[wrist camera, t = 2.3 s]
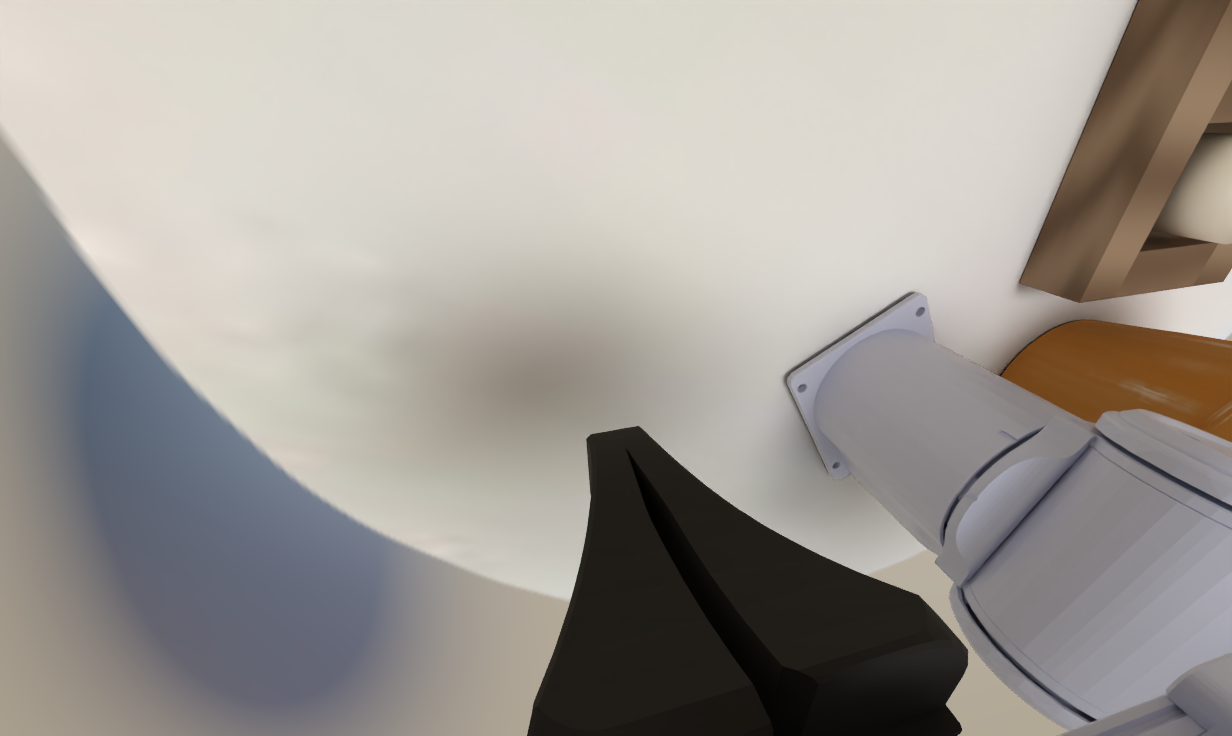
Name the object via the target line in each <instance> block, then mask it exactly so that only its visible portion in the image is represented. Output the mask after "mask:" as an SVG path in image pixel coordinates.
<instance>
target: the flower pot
mask: <svg viewBox="0 0 1232 736" xmlns="http://www.w3.org/2000/svg"><path fill="white" fill-rule="evenodd" d="M1001 377H1002V378H1004V379H1006V380H1008V381H1010V382H1012V383H1014V384H1016V385H1018V386H1020V387H1021V388H1023V389H1025V390H1027V391H1029V392H1031V393H1033V394H1035V395H1037V396H1039V397H1041V398H1043V399H1044V400H1046V401H1048V402H1050V403H1052V404H1054V405H1056V406H1058V407H1060V408H1062V409H1064V410H1065V411H1067V412H1069V413H1071V414H1073V415H1075V416H1077V417H1079V418H1081V419H1083V420H1085V421H1088V422H1092V423H1097V421H1098V420H1099V418H1100V417H1101V415H1102V414H1103V413H1105V412H1107V411H1118V412H1121V411H1126V410H1133V409H1144V410H1148V411H1151V412H1155V413H1158V414H1161V415H1164V416H1166V417H1169V418H1172V419H1175V420H1177V421H1180V422H1183V423H1185V424H1188V425H1190V426H1193V427H1195V428H1198V429H1200V430H1203V431H1205V432H1208V433H1210V434H1213V435H1215V436H1218V437H1220V438H1223V439H1225V440H1227V441H1230V442H1232V341H1227V340H1221V339H1215V338H1209V337H1203V336H1197V335H1191V334H1184V333H1178V332H1171V331H1164V330H1157V329H1150V328H1143V327H1137V326H1130V325H1123V324H1116V323H1110V322H1102V321H1095V320H1079V321H1074V322H1070V323H1066V324H1064V325H1061V326H1059V327H1056V328H1054V329H1052V330H1050V331H1049V332H1047V333H1045V334H1044V335H1042V336H1041V337H1039V338H1038V339H1036V340H1035V341H1034V342H1032V343H1031V344H1030V345H1029V346H1028V347H1026V348H1025V349H1024V350H1023V351H1022V352H1021V353H1020V354H1019V355H1018V356H1017V357H1016V358H1015V359H1014V360H1013V361H1012V362H1011V363H1010V364H1009V366H1008V367H1007V368H1006V370H1005V371H1004V372H1003V374H1002V375H1001Z"/></svg>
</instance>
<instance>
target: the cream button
mask: <svg viewBox="0 0 1232 736" xmlns="http://www.w3.org/2000/svg"><path fill="white" fill-rule="evenodd" d="M1151 231H1156V232H1161V233H1166V234H1171V235H1177V236H1182V237H1187V238H1193V239H1198V240H1203V241H1208V242H1214V243H1219V244H1224V245H1225V244H1232V134H1229V133H1204V132H1203V134H1202V136H1201V138H1200V140H1199V142H1198V144H1197V146H1196V147H1195V149H1194V151H1193V153H1192V155H1191V157H1190V159H1189V160H1188V162H1187V164H1186V166H1185V168H1184V170H1183V172H1182V173H1181V175H1180V177H1179V179H1178V181H1177V183H1176V185H1175V186H1174V188H1173V190H1172V192H1171V194H1170V196H1169V198H1168V199H1167V201H1166V203H1165V205H1164V207H1163V209H1162V211H1161V212H1160V214H1159V216H1158V218H1157V220H1156V222H1155V224H1154V225H1153V227H1152V229H1151Z"/></svg>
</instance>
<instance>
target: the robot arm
mask: <svg viewBox="0 0 1232 736" xmlns="http://www.w3.org/2000/svg"><path fill="white" fill-rule="evenodd" d="M787 384H788V387H789V389H790V391H791V393H792V395H793V397H794V399H795V402H796V404H797V406H798V408H799V410H800V412H801V414H802V417H803V419H804V421H805V423H806V425H807V427H808V429H809V432H810V434H811V436H812V438H813V440H814V442H815V445H816V447H817V449H818V451H819V453H820V455H821V457H822V460H823V462H824V464H825V466H826V468H827V470H828V472H829V475H830V476H831V477H832V478H833V479H834V480H836V481H837V480H841V479H843V478H845V477H846V476H848V475H849V474H851V475H852V476H853V477H854V478H855V479H856V480H857V481H858V482H859V483H860V484H861V485H862V486H863V487H864V488H865V489H866V490H867V491H868V492H869V493H870V494H871V495H872V496H873V497H874V498H875V499H876V500H877V501H878V502H879V503H880V504H881V505H882V506H883V507H884V508H885V509H886V510H887V511H888V512H889V513H890V514H891V515H892V516H893V517H894V518H895V519H896V520H897V521H898V522H899V523H900V524H901V525H902V526H903V527H904V528H906V529H907V530H908V531H909V532H910V533H911V534H912V535H913V536H914V537H915V538H916V539H917V540H918V541H919V542H920V543H921V544H922V545H924V546H925V547H926V548H927V549H929V550H930V551H932V552H934V553H935V554H937V555H939V556H938V557H937V558H936V560H935V563H936V564H937V565H938V566H939V567H940V568H941V569H942V570H943V572H944V573H946V574H947V576H948V577H950V579H951V580H953V582H954V584H953V585H952V587H951V589H950V592H949V600H950V604H951V608H952V610H953V613H954V615H955V617H956V619H957V621H958V623H959V625H960V627H961V630H962V632H963V634H964V635H965V637H966V639H967V640H968V642H969V643H970V645H971V646H972V648H973V649H974V651H975V652H976V653H977V654H978V656H979V657H980V658H981V659H982V661H983V662H984V663H985V664H986V665H987V666H988V667H989V669H991V671H992V672H993V673H994V674H995V675H996V676H997V677H998V678H999V679H1000V680H1001V681H1002V682H1003V683H1004V684H1005V685H1006V686H1007V687H1009V688H1010V689H1011V690H1012V691H1013V692H1014V693H1015V694H1017V695H1018V696H1019V697H1020V698H1021V699H1022V700H1024V701H1025V702H1026V703H1027V704H1029V705H1030V706H1031V707H1033V708H1034V709H1035V710H1037V711H1038V712H1039V713H1041V714H1042V715H1044V716H1045V717H1047V718H1048V719H1050V720H1051V721H1053V722H1055V723H1056V724H1058V725H1059V726H1061V727H1063V728H1065V729H1066V730H1068V732H1065V733H1063V734H1060V735H1057V736H1232V442H1230V441H1227V440H1225V439H1223V438H1220V437H1218V436H1215V435H1213V434H1210V433H1208V432H1205V431H1203V430H1200V429H1198V428H1195V427H1193V426H1190V425H1188V424H1185V423H1183V422H1180V421H1177V420H1175V419H1172V418H1169V417H1166V416H1164V415H1161V414H1158V413H1155V412H1151V411H1148V410H1144V409H1133V410H1126V411H1121V412H1118V411H1107V412H1105V413H1103V414H1102V415H1101V417H1100V418H1099V420H1098V421H1097V423H1092V422H1088V421H1085V420H1083V419H1081V418H1079V417H1077V416H1075V415H1073V414H1071V413H1069V412H1067V411H1065V410H1064V409H1062V408H1060V407H1058V406H1056V405H1054V404H1052V403H1050V402H1048V401H1046V400H1044V399H1043V398H1041V397H1039V396H1037V395H1035V394H1033V393H1031V392H1029V391H1027V390H1025V389H1023V388H1021V387H1020V386H1018V385H1016V384H1014V383H1012V382H1010V381H1008V380H1006V379H1004V378H1002V377H1000V376H998V375H997V374H995V373H993V372H991V371H989V370H987V369H985V368H983V367H981V366H979V365H977V364H975V363H974V362H972V361H970V360H968V359H966V358H964V357H962V356H960V355H958V354H956V353H954V352H953V351H951V350H949V349H947V348H945V347H943V346H941V345H939V344H937V343H935V338H934V333H933V328H932V323H931V318H930V313H929V308H928V303H927V298H926V296H924V295H922V294H920V293H914V294H912V295H910V296H909V297H907V298H905V299H904V300H902V301H901V302H899V303H898V304H896V305H895V306H893V307H892V308H890V309H889V310H887V311H886V312H884V313H882V314H881V315H879V316H878V317H876V318H875V319H873V320H872V321H870V322H869V323H867V324H866V325H864V326H863V327H861V328H859V329H858V330H856V331H855V332H853V333H852V334H850V335H849V336H847V337H846V338H844V339H843V340H841V341H839V342H838V343H836V344H835V345H833V346H832V347H830V348H829V349H827V350H826V351H824V352H823V353H821V354H820V355H818V356H816V357H815V358H813V359H812V360H810V361H809V362H807V363H806V364H804V365H803V366H801V367H800V368H798V369H797V370H795V371H793V372H792V373H791V374H790V375H789V376H788V378H787ZM800 385H802V386H801V387H800V388H798V387H799V386H800ZM586 440H587V454H588V467H589V480H590V493H591V502H590V510H589V518H588V526H587V532H586V538H585V543H584V549H583V553H582V558H581V563H580V567H579V571H578V575H577V579H576V583H575V587H574V590H573V594H572V598H571V601H570V604H569V608H568V611H567V614H566V617H565V620H564V623H563V626H562V629H561V632H560V635H559V638H558V641H557V644H556V647H555V650H554V653H553V655H552V658H551V660H550V663H549V665H548V668H547V670H546V673H545V676H544V678H543V681H542V683H541V686H540V688H539V691H538V693H537V696H536V699H535V701H534V704H533V710H532V716H531V720H530V725H529V729H528V734H527V736H957V735H958V734H960V733H961V731H962V728H961V725H960V723H959V722H958V721H957V719H956V718H955V716H954V715H953V714H952V713H951V711H950V710H949V709H948V707H947V706H946V705H945V704H946V702H947V701H948V699H949V697H950V696H951V694H952V692H953V691H954V689H955V688H956V686H957V685H958V683H959V681H960V680H961V678H962V677H963V675H964V673H965V670H966V668H967V666H968V650H967V648H966V647H965V646H964V644H963V643H962V642H961V641H960V640H959V639H958V637H957V636H956V635H955V634H954V633H953V632H952V631H951V629H950V628H949V627H948V626H947V625H946V624H945V623H944V622H943V620H942V619H941V618H940V617H939V616H938V615H937V614H936V613H935V612H934V610H932V608H931V607H930V606H929V605H928V604H927V603H926V602H925V601H924V600H923V599H922V598H921V597H920V596H919V595H917V594H913V593H911V592H909V591H906V590H903V589H901V588H898V587H895V586H893V585H890V584H887V583H885V582H882V581H879V580H877V579H874V578H871V577H869V576H866V575H864V574H861V573H859V572H857V571H854V570H852V569H850V568H848V567H845V566H843V565H841V564H839V563H836V562H834V561H832V560H830V559H827V558H825V557H823V556H821V555H819V554H817V553H815V552H813V551H811V550H809V549H807V548H805V547H803V546H801V545H799V544H797V543H795V542H793V541H791V540H790V539H788V538H786V537H784V536H782V535H780V534H778V533H776V532H775V531H773V530H771V529H769V528H768V527H766V526H764V525H763V524H761V523H759V522H758V521H756V520H755V519H753V518H751V517H750V516H748V515H747V514H745V513H744V512H742V511H740V510H739V509H737V508H736V507H734V506H733V505H732V504H730V503H729V502H727V501H726V500H725V499H723V498H722V497H720V496H719V495H718V494H716V493H715V492H714V491H712V490H711V489H710V488H708V487H707V486H706V485H705V484H703V483H702V482H701V481H700V480H698V479H697V478H696V477H695V476H694V475H692V474H691V473H690V472H689V471H688V470H686V469H685V468H684V467H683V466H682V465H681V464H679V463H678V462H677V461H676V460H675V459H674V458H673V457H671V456H670V455H669V454H668V453H667V452H666V451H665V450H664V449H663V448H662V447H661V446H660V445H658V444H657V443H656V442H655V441H654V440H653V439H652V438H651V437H650V436H649V435H648V434H647V433H646V432H645V431H644V430H643V429H642V428H640V427H639V426H636V427H630V428H624V429H619V430H613V431H607V432H602V433H596V434H591V435H590V436H589V437H588V438H587V439H586Z"/></svg>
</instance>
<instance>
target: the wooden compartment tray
mask: <svg viewBox="0 0 1232 736" xmlns="http://www.w3.org/2000/svg"><path fill="white" fill-rule="evenodd" d="M1203 132H1204V133H1229V134H1232V0H1139V2H1138V4H1137V6H1136V9H1135V11H1134V13H1133V16H1132V18H1131V20H1130V23H1129V25H1128V28H1127V30H1126V32H1125V35H1124V37H1123V39H1122V42H1121V44H1120V46H1119V49H1118V51H1117V54H1116V56H1115V58H1114V61H1113V63H1112V65H1111V68H1110V70H1109V72H1108V75H1107V77H1106V80H1105V82H1104V84H1103V87H1102V89H1101V91H1100V94H1099V96H1098V98H1097V101H1096V103H1095V106H1094V108H1093V110H1092V113H1091V115H1090V117H1089V120H1088V122H1087V124H1086V127H1085V129H1084V132H1083V134H1082V136H1081V139H1080V141H1079V143H1078V146H1077V148H1076V150H1075V153H1074V155H1073V157H1072V160H1071V162H1070V165H1069V167H1068V169H1067V172H1066V174H1065V176H1064V179H1063V181H1062V183H1061V186H1060V188H1059V191H1058V193H1057V195H1056V198H1055V200H1054V202H1053V205H1052V207H1051V209H1050V212H1049V214H1048V217H1047V219H1046V221H1045V224H1044V226H1043V228H1042V231H1041V233H1040V235H1039V238H1038V240H1037V243H1036V245H1035V247H1034V250H1033V252H1032V254H1031V257H1030V259H1029V261H1028V264H1027V266H1026V269H1025V271H1024V273H1023V276H1022V278H1021V280H1020V283H1021V284H1024V285H1027V286H1030V287H1033V288H1036V289H1039V290H1042V291H1045V292H1048V293H1051V294H1054V295H1057V296H1060V297H1063V298H1066V299H1069V300H1072V301H1075V302H1078V303H1083V302H1089V301H1096V300H1103V299H1109V298H1116V297H1123V296H1130V295H1136V294H1143V293H1150V292H1157V291H1163V290H1170V289H1177V288H1183V287H1190V286H1197V285H1204V284H1210V283H1217V282H1223V281H1224V280H1225V278H1226V277H1227V275H1228V273H1229V272H1230V270H1231V269H1232V244H1225V245H1224V244H1219V243H1214V242H1208V241H1203V240H1198V239H1193V238H1187V237H1182V236H1177V235H1171V234H1166V233H1161V232H1156V231H1151V229H1152V227H1153V225H1154V224H1155V222H1156V220H1157V218H1158V216H1159V214H1160V212H1161V211H1162V209H1163V207H1164V205H1165V203H1166V201H1167V199H1168V198H1169V196H1170V194H1171V192H1172V190H1173V188H1174V186H1175V185H1176V183H1177V181H1178V179H1179V177H1180V175H1181V173H1182V172H1183V170H1184V168H1185V166H1186V164H1187V162H1188V160H1189V159H1190V157H1191V155H1192V153H1193V151H1194V149H1195V147H1196V146H1197V144H1198V142H1199V140H1200V138H1201V136H1202V134H1203Z"/></svg>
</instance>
